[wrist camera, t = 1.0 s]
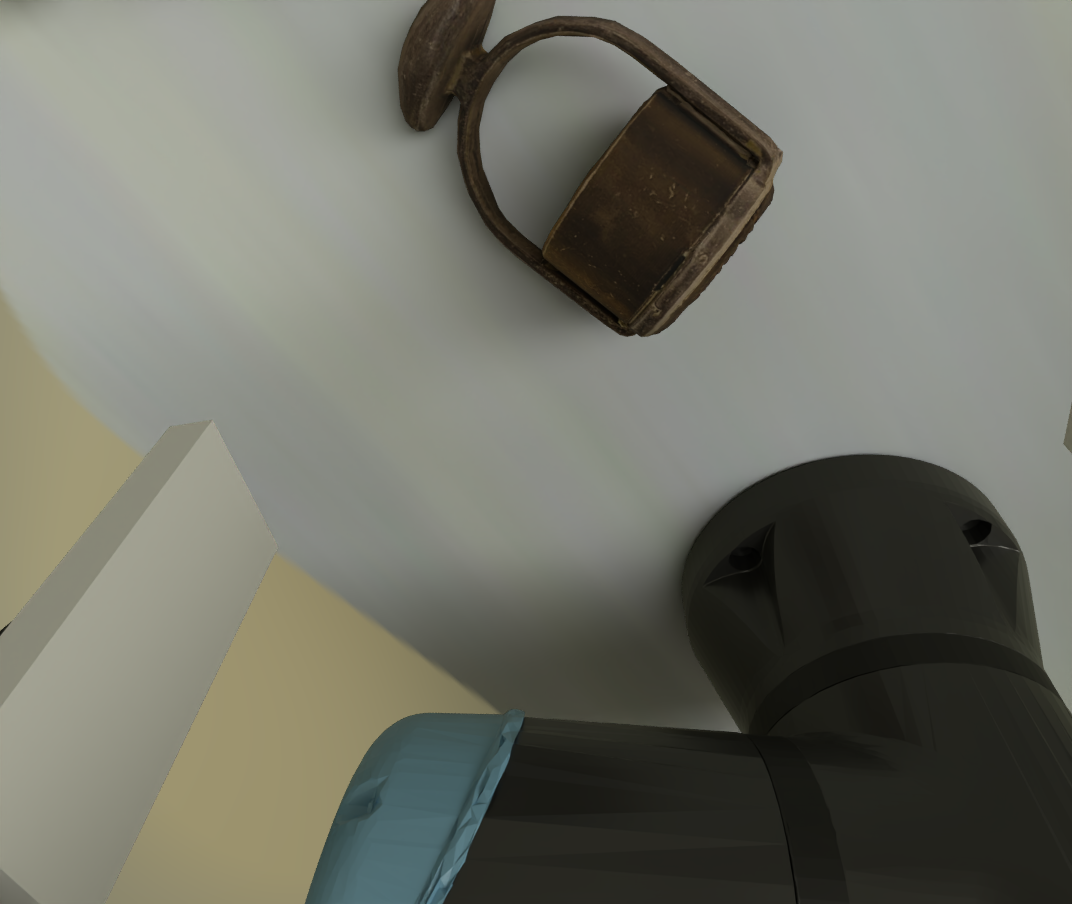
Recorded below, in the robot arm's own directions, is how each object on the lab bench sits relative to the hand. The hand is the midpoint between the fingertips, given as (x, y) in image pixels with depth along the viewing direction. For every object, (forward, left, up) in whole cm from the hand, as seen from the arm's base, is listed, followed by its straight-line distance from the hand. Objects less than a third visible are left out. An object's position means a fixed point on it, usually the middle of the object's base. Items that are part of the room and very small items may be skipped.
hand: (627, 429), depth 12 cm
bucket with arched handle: (+1, 0, -19) cm, 19 cm away
